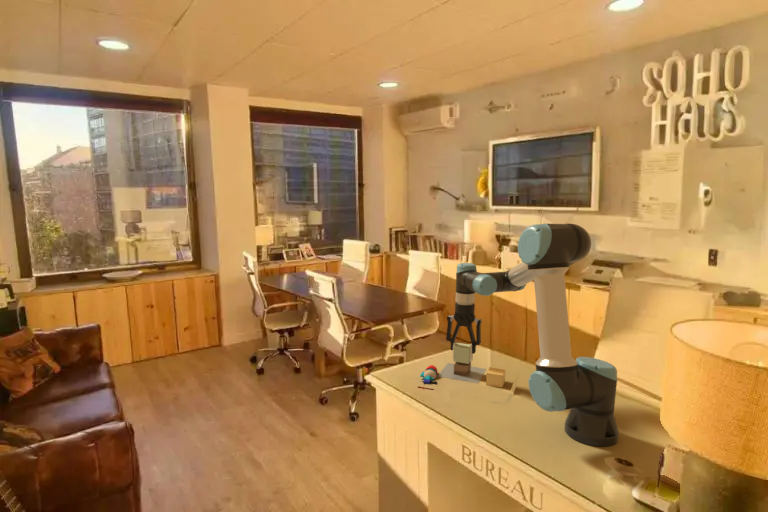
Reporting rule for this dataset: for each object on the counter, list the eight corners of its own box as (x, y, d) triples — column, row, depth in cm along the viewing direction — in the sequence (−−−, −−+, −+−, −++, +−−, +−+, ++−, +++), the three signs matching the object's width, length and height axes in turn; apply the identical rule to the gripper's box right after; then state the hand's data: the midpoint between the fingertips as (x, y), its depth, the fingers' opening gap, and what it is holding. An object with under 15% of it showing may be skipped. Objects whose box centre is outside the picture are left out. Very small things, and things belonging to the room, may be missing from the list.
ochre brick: (502, 390, 177) (502, 375, 177) (485, 388, 180) (486, 372, 179) (504, 384, 183) (505, 369, 182) (488, 382, 185) (489, 367, 184)
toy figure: (436, 394, 177) (442, 373, 191) (435, 382, 176) (441, 362, 190) (416, 393, 179) (423, 372, 193) (414, 381, 178) (422, 361, 192)
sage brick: (468, 363, 187) (469, 349, 186) (453, 361, 189) (454, 346, 188) (471, 359, 192) (472, 344, 191) (456, 357, 194) (457, 342, 193)
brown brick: (467, 376, 187) (467, 366, 187) (453, 374, 189) (454, 364, 189) (470, 371, 193) (471, 361, 192) (457, 368, 195) (457, 359, 194)
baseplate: (477, 386, 181) (478, 383, 181) (437, 379, 187) (437, 376, 187) (486, 371, 196) (486, 368, 195) (447, 365, 202) (447, 362, 201)
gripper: (491, 303, 187) (488, 360, 190) (444, 298, 194) (442, 353, 197) (487, 307, 180) (484, 366, 183) (438, 302, 187) (436, 359, 191)
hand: (462, 359), depth 190 cm, fingers closed on sage brick, 6 cm apart
